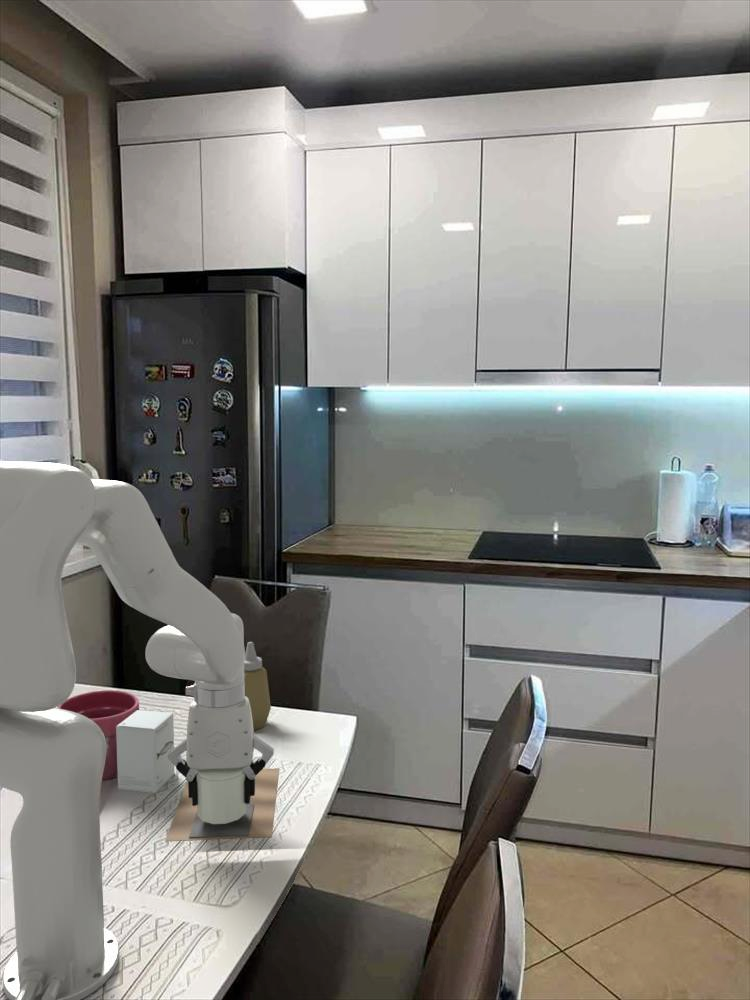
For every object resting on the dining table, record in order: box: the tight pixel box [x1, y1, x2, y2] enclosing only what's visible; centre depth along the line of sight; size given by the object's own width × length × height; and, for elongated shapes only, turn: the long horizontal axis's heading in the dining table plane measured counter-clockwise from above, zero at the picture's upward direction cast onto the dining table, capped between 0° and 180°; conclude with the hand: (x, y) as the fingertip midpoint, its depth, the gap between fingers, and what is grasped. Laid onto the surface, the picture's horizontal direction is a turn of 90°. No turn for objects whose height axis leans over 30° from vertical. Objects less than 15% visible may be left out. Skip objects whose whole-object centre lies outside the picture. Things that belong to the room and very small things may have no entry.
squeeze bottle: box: [244, 641, 272, 731], centre depth 155 cm, size 8×8×18 cm
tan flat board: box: [165, 767, 280, 842], centre depth 123 cm, size 22×16×1 cm
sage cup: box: [196, 768, 247, 824], centre depth 116 cm, size 8×8×8 cm
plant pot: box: [56, 689, 140, 782], centre depth 135 cm, size 14×14×13 cm
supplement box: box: [116, 709, 176, 794], centre depth 129 cm, size 7×7×13 cm
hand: (222, 799), depth 116 cm, fingers closed on sage cup, 7 cm apart
